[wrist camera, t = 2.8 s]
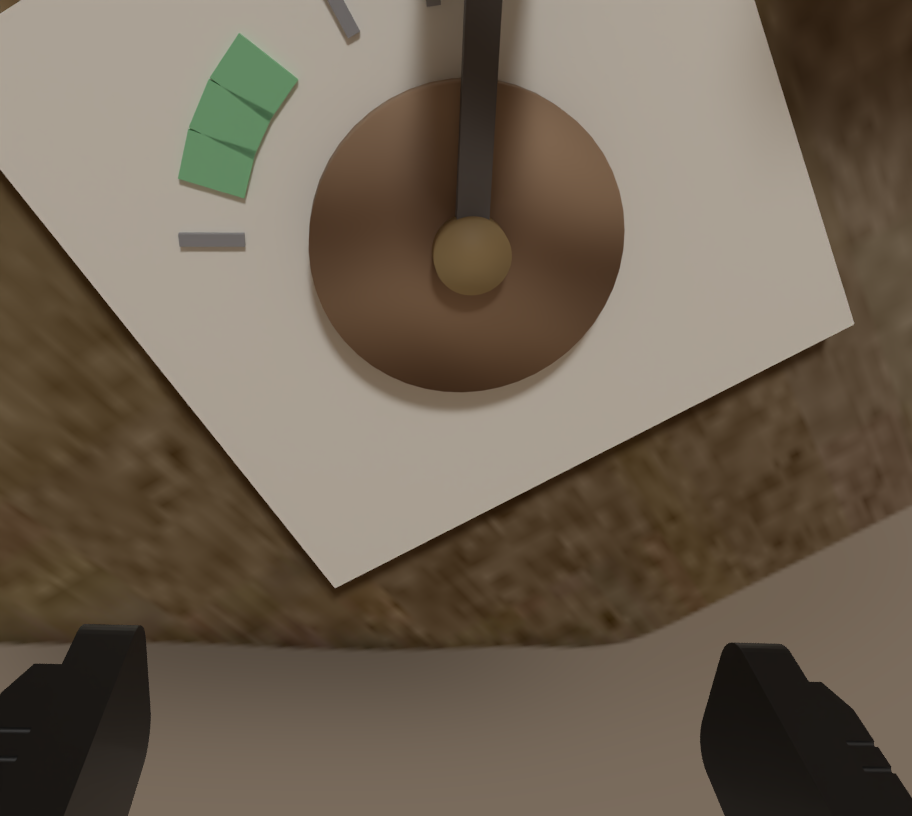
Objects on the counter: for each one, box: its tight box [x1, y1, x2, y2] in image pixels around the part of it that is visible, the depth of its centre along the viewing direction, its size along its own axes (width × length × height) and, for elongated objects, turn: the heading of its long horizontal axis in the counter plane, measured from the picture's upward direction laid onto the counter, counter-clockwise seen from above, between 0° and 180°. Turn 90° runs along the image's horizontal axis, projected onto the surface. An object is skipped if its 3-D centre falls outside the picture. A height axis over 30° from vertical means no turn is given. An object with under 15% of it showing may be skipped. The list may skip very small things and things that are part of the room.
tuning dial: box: [309, 0, 625, 392], centre depth 23 cm, size 17×10×8 cm, turn 178°
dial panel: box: [0, 0, 854, 588], centre depth 29 cm, size 22×22×2 cm
